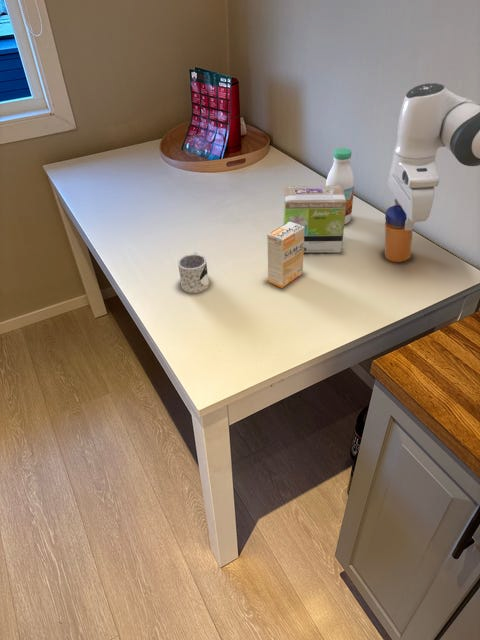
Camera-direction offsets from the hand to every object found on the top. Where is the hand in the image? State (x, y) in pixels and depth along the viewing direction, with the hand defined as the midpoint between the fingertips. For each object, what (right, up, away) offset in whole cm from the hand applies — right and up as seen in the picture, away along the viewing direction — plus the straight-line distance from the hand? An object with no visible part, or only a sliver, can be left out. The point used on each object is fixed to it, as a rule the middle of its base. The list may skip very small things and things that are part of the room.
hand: (402, 221), depth 116 cm
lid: (-1, +2, -1) cm, 2 cm away
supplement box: (-28, -14, +2) cm, 31 cm away
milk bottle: (-11, +5, +24) cm, 27 cm away
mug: (-50, -14, +3) cm, 52 cm away
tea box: (-20, -4, +14) cm, 24 cm away
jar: (+1, -7, +7) cm, 10 cm away
